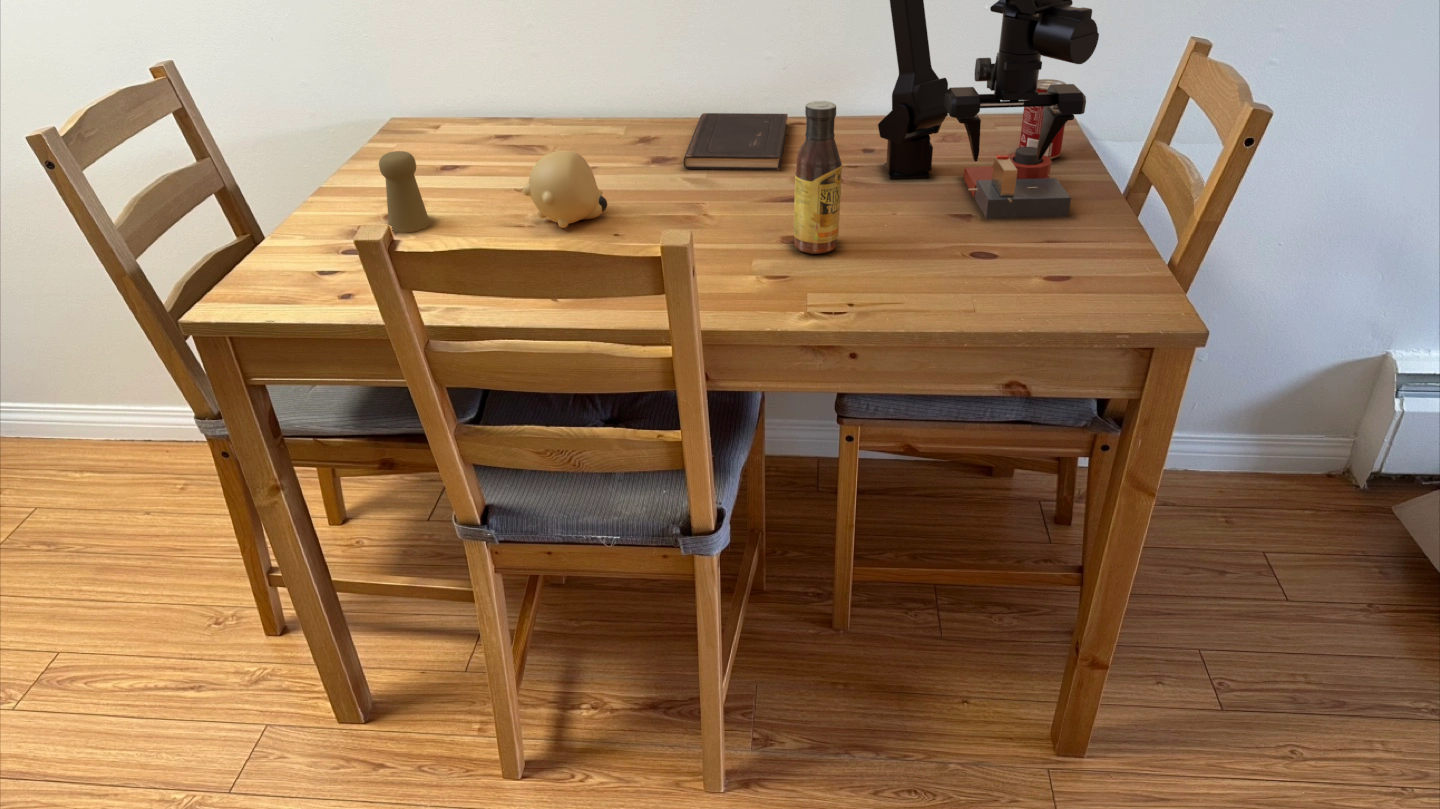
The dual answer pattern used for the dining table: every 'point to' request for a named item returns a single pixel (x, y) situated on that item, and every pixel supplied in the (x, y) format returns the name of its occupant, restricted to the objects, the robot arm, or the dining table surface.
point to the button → (1026, 156)
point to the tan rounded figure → (564, 188)
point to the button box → (1022, 170)
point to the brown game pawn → (403, 193)
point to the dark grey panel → (1023, 199)
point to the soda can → (1039, 124)
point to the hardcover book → (737, 142)
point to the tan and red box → (1004, 175)
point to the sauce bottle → (818, 182)
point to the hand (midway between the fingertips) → (1006, 159)
